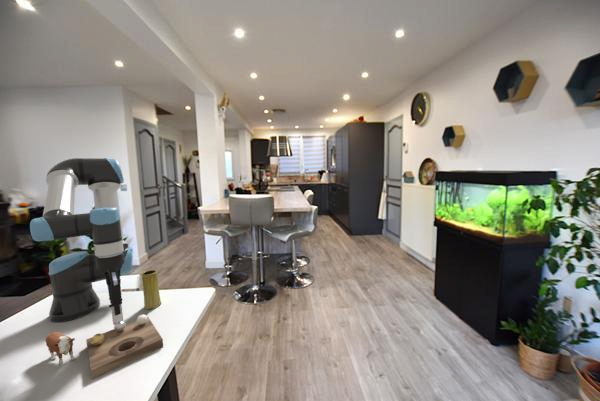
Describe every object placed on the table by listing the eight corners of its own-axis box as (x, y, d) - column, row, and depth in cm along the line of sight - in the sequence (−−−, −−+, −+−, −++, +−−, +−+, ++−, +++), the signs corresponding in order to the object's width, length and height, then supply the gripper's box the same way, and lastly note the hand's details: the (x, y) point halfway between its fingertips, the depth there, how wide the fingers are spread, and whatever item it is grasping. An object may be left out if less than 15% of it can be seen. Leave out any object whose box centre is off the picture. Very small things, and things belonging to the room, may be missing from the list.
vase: (151, 301, 105) (148, 269, 104) (164, 301, 104) (161, 269, 103) (140, 309, 99) (136, 275, 98) (154, 309, 98) (150, 275, 97)
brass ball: (91, 344, 75) (89, 334, 75) (104, 339, 77) (103, 329, 77) (91, 349, 73) (90, 339, 72) (105, 344, 75) (104, 334, 75)
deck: (87, 346, 78) (86, 339, 77) (148, 323, 89) (147, 316, 89) (92, 379, 65) (91, 370, 65) (163, 346, 77) (162, 338, 76)
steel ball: (113, 331, 81) (112, 322, 81) (125, 326, 83) (124, 317, 83) (115, 335, 79) (114, 326, 79) (127, 330, 81) (126, 321, 81)
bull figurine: (60, 374, 67) (56, 346, 66) (45, 356, 74) (41, 331, 73) (81, 363, 71) (77, 336, 70) (65, 347, 78) (61, 323, 77)
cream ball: (136, 324, 85) (134, 315, 84) (146, 320, 87) (145, 311, 87) (138, 328, 82) (137, 319, 82) (149, 323, 85) (148, 315, 84)
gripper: (93, 253, 83) (101, 319, 85) (97, 261, 74) (106, 336, 76) (120, 248, 88) (127, 310, 91) (127, 255, 79) (135, 325, 81)
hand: (118, 322), depth 83 cm, fingers closed
